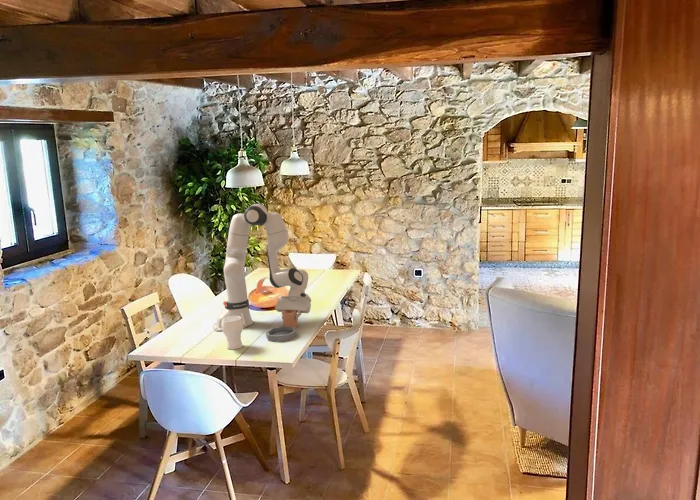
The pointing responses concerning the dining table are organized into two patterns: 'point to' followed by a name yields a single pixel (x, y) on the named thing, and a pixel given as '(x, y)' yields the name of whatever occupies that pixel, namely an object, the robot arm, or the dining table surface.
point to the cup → (232, 331)
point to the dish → (281, 334)
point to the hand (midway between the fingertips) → (289, 318)
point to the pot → (289, 318)
